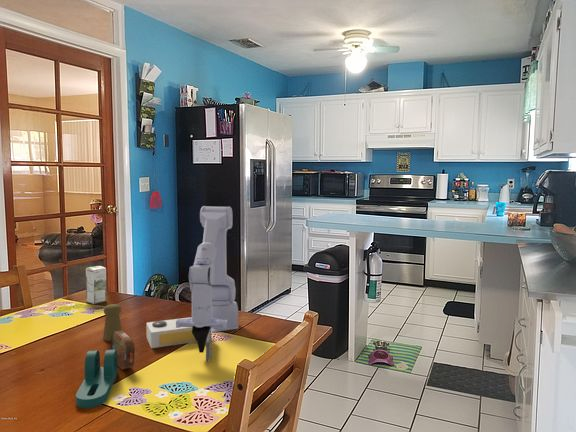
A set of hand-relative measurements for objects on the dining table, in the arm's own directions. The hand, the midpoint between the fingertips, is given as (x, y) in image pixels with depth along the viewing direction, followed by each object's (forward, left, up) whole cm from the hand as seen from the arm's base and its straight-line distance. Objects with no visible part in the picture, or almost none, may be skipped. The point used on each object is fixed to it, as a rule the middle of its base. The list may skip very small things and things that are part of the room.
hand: (201, 351), depth 133 cm
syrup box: (+25, -74, -3) cm, 78 cm away
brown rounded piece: (+21, -6, -3) cm, 22 cm away
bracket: (+28, +8, -3) cm, 30 cm away
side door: (-4, -5, -2) cm, 7 cm away
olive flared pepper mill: (+22, -28, -3) cm, 36 cm away
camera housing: (+3, -19, -2) cm, 19 cm away
